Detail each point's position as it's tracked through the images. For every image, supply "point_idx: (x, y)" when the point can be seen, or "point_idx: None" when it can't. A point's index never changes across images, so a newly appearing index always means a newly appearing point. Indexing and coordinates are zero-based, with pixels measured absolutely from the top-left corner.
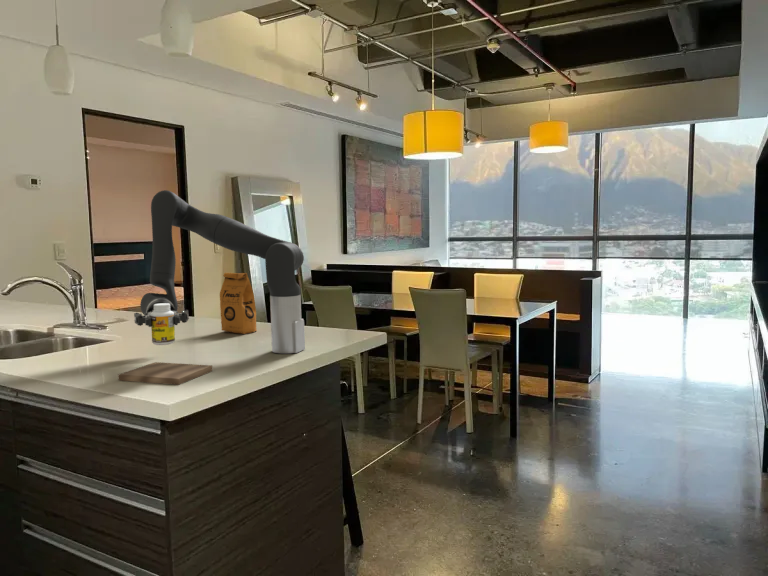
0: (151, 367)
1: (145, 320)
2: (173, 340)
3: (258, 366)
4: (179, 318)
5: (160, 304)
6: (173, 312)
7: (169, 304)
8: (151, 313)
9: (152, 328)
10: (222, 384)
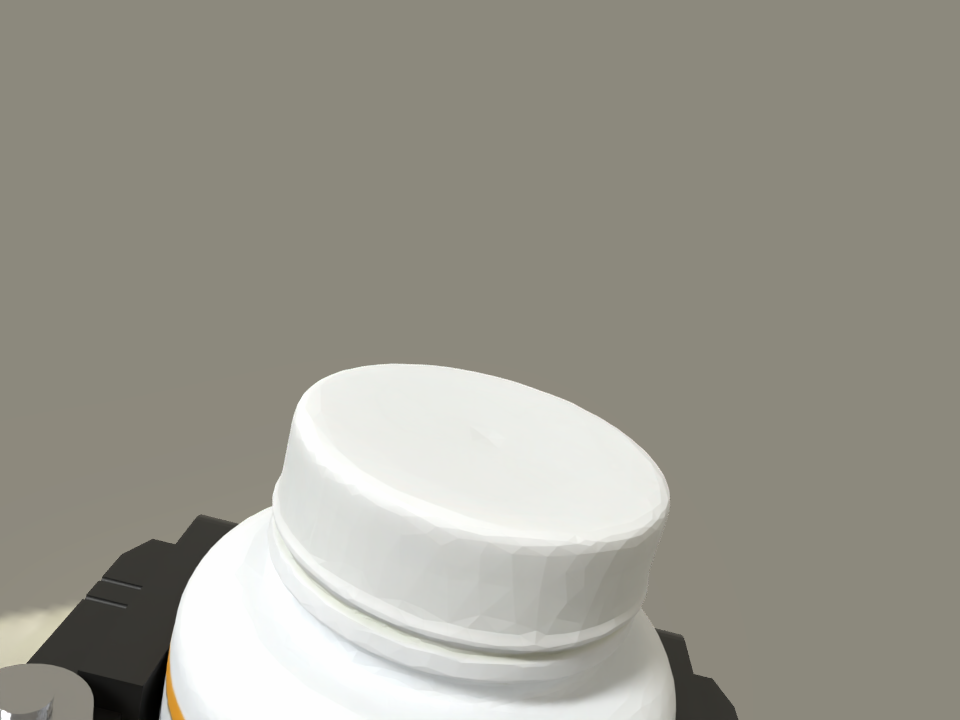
0: None
1: (721, 706)
2: None
3: None
4: (142, 555)
5: (519, 436)
6: (210, 549)
7: (333, 374)
8: (660, 642)
9: None
10: (28, 648)
